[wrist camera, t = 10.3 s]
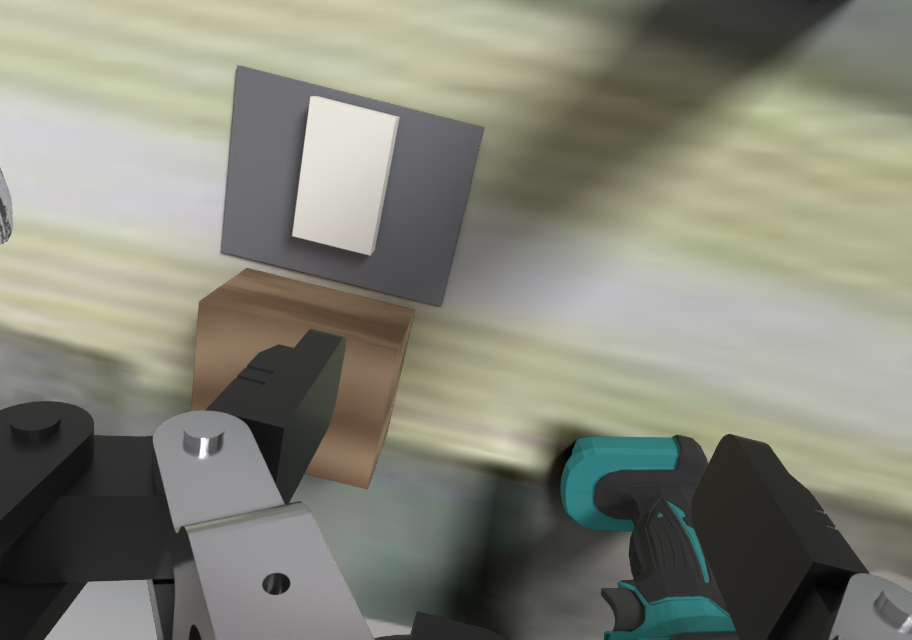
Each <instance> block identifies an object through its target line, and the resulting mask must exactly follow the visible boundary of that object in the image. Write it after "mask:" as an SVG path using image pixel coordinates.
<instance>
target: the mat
mask: <svg viewBox="0 0 912 640" xmlns="http://www.w3.org/2000/svg"><path fill="white" fill-rule="evenodd" d="M310 96H319V97H323V98H327V99H331V100H335V101H338V102H342V103H346V104H350V105H354V106H358V107H362V108H366V109H370V110H374V111H378V112H382V113H386V114H390V115H394V116H398V117H400V118H399V123H398V128H397V134H396V139H395V144H394V150H393V155H392V161H391V166H390V171H389V177H388V182H387V187H386V193H385V198H384V203H383V209H382V214H381V219H380V225H379V230H378V235H377V241H376V246H375V251H374V252H373V253H372V254H371V256H370V255H366V254H362V253H358V252H354V251H350V250H346V249H342V248H338V247H334V246H330V245H326V244H322V243H318V242H314V241H310V240H306V239H302V238H298V237H294V236H292V233H293V226H294V218H295V210H296V203H297V195H298V187H299V180H300V172H301V165H302V157H303V149H304V142H305V134H306V126H307V119H308V111H309V103H310ZM483 130H484V127H480V126H476V125H472V124H468V123H464V122H460V121H456V120H452V119H448V118H445V117H441V116H437V115H433V114H429V113H425V112H421V111H417V110H413V109H409V108H405V107H401V106H397V105H393V104H389V103H385V102H381V101H377V100H373V99H369V98H365V97H361V96H358V95H354V94H350V93H346V92H342V91H338V90H334V89H330V88H326V87H322V86H318V85H314V84H310V83H306V82H302V81H298V80H294V79H290V78H286V77H282V76H278V75H275V74H271V73H267V72H263V71H259V70H255V69H251V68H247V67H243V66H237V74H236V86H235V98H234V109H233V121H232V133H231V145H230V157H229V168H228V180H227V192H226V204H225V216H224V227H223V239H222V251H221V252H225V253H229V254H233V255H237V256H241V257H245V258H249V259H253V260H257V261H261V262H265V263H269V264H273V265H277V266H281V267H285V268H289V269H293V270H297V271H301V272H305V273H309V274H313V275H317V276H321V277H325V278H329V279H333V280H337V281H341V282H345V283H349V284H353V285H357V286H361V287H365V288H369V289H373V290H377V291H381V292H385V293H389V294H393V295H397V296H401V297H405V298H409V299H413V300H417V301H421V302H425V303H429V304H433V305H437V306H441V305H442V300H443V296H444V292H445V288H446V284H447V280H448V276H449V271H450V267H451V263H452V259H453V255H454V251H455V246H456V242H457V238H458V234H459V230H460V226H461V222H462V217H463V213H464V209H465V205H466V201H467V197H468V192H469V188H470V184H471V180H472V176H473V172H474V168H475V163H476V159H477V155H478V151H479V147H480V143H481V139H482V134H483Z"/></svg>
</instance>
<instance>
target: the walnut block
mask: <svg viewBox="0 0 912 640" xmlns="http://www.w3.org/2000/svg"><path fill="white" fill-rule="evenodd" d="M414 311H415V310H412V309H408V308H404V307H400V306H396V305H392V304H388V303H384V302H380V301H376V300H372V299H368V298H364V297H360V296H356V295H352V294H348V293H344V292H340V291H336V290H332V289H328V288H324V287H320V286H316V285H312V284H308V283H304V282H300V281H296V280H292V279H288V278H284V277H280V276H276V275H272V274H268V273H264V272H260V271H256V270H252V269H248V268H246V269H245V270H243V271H242V272H240V273H239V274H238V275H236V276H235V277H233V278H232V279H230V280H229V281H228V282H226V283H225V284H223V285H222V286H221V287H219V288H218V289H216V290H215V291H213V292H212V293H211V294H209V295H208V296H206V297H205V298H203V299H202V300H201V301H199V309H198V323H197V337H196V351H195V364H194V378H193V392H192V406H191V412H192V411H205V410H206V409H207V408H208V407H209V405H210V404H211V403H212V402H213V401H214V400H215V399H216V398H217V397H218V396H219V395H220V394H221V393H222V392H223V390H224V389H225V388H226V387H227V386H228V385H229V384H230V383H231V382H232V381H233V380H234V379H235V378H237V375H238V374H239V373H240V372H241V371H242V370H243V369H244V368H246V367H247V365H248V364H249V363H250V361H251V360H252V359H253V358H254V357H255V356H256V355H257V354H258V353H259V352H261V351H264V350H266V349H269V348H271V347H273V346H276V345H278V344H280V345H284V346H288V347H292V348H294V347H295V346H296V345H297V343H298V342H299V341H300V340H301V339H302V337H303V336H304V335H305V334H306V332H307V331H308V330H309V329H310V328H313V329H317V330H321V331H325V332H329V333H333V334H337V335H341V336H345V337H346V349H345V355H344V360H343V366H342V371H341V377H340V382H339V388H338V394H337V399H336V404H335V409H334V412H333V416H332V419H331V422H330V425H329V427H328V430H327V432H326V434H325V436H324V438H323V439H322V441H321V443H320V445H319V447H318V449H317V451H316V453H315V455H314V456H313V458H312V460H311V462H310V464H309V466H308V468H307V470H306V472H305V474H307V475H311V476H316V477H320V478H324V479H328V480H332V481H336V482H340V483H344V484H348V485H352V486H356V487H360V488H364V489H368V487H369V484H370V481H371V478H372V475H373V472H374V470H375V467H376V464H377V461H378V458H379V455H380V452H381V450H382V447H383V444H384V441H385V438H386V435H387V432H388V428H389V423H390V419H391V414H392V410H393V405H394V401H395V397H396V392H397V388H398V383H399V379H400V374H401V370H402V365H403V361H404V356H405V352H406V347H407V343H408V338H409V334H410V329H411V325H412V320H413V316H414Z"/></svg>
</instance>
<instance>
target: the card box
mask: <svg viewBox="0 0 912 640" xmlns="http://www.w3.org/2000/svg"><path fill="white" fill-rule="evenodd" d="M399 118H400V117H398V116H394V115H390V114H386V113H382V112H378V111H374V110H370V109H366V108H362V107H358V106H354V105H350V104H346V103H342V102H338V101H335V100H331V99H327V98H323V97H319V96H310V103H309V111H308V119H307V126H306V134H305V142H304V149H303V157H302V165H301V172H300V180H299V187H298V195H297V203H296V210H295V218H294V226H293V233H292V236H294V237H298V238H302V239H306V240H310V241H314V242H318V243H322V244H326V245H330V246H334V247H338V248H342V249H346V250H350V251H354V252H358V253H362V254H366V255H370V256H371V254H372V253H373V252H374V251H375V246H376V241H377V235H378V230H379V225H380V219H381V214H382V209H383V203H384V198H385V193H386V187H387V182H388V177H389V171H390V166H391V161H392V155H393V150H394V144H395V139H396V134H397V128H398V123H399Z"/></svg>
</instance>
